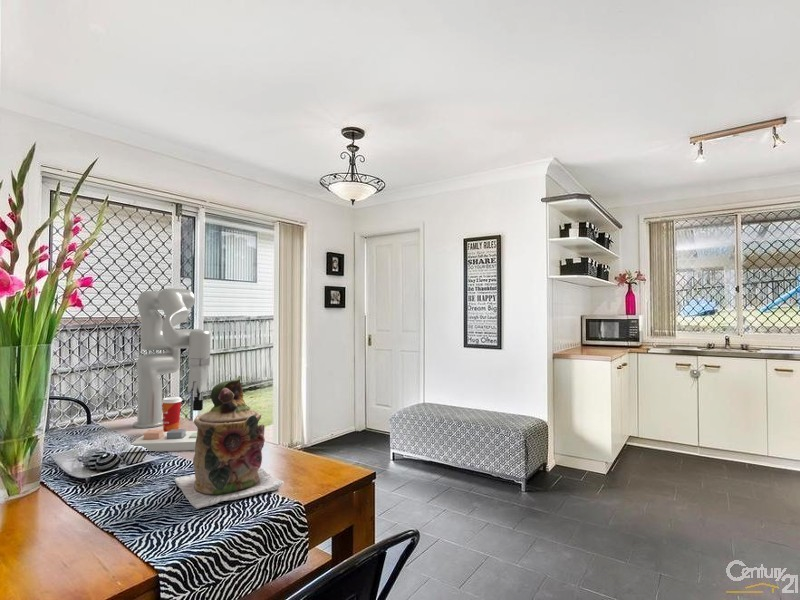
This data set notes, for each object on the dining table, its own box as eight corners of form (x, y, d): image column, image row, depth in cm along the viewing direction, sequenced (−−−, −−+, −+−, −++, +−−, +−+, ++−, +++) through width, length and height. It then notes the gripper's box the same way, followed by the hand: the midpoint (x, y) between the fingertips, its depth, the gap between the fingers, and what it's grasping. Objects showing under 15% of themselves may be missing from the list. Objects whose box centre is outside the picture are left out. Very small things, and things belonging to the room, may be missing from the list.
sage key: (193, 438, 174) (193, 432, 174) (207, 438, 175) (207, 432, 175) (189, 442, 169) (189, 436, 169) (203, 442, 170) (204, 435, 170)
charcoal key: (171, 435, 173) (171, 429, 173) (185, 435, 174) (185, 428, 174) (166, 439, 168) (166, 432, 168) (181, 438, 169) (181, 432, 169)
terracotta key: (148, 436, 172) (149, 429, 172) (163, 435, 173) (163, 429, 173) (143, 440, 167) (143, 433, 167) (158, 439, 167) (158, 433, 168)
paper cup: (161, 430, 191) (162, 397, 192) (181, 428, 194) (182, 396, 195) (160, 434, 184) (161, 400, 184) (180, 433, 187) (181, 399, 188)
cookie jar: (171, 483, 133) (175, 375, 134) (253, 466, 148) (255, 369, 149) (196, 512, 114) (199, 386, 115) (286, 489, 129) (288, 378, 130)
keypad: (147, 439, 177) (147, 432, 177) (216, 437, 181) (217, 430, 181) (130, 452, 161) (130, 443, 161) (206, 449, 165) (207, 441, 165)
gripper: (194, 360, 180) (192, 406, 179) (183, 364, 165) (181, 414, 165) (213, 360, 181) (212, 405, 181) (204, 364, 166) (203, 414, 166)
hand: (197, 410), depth 173 cm, fingers closed
